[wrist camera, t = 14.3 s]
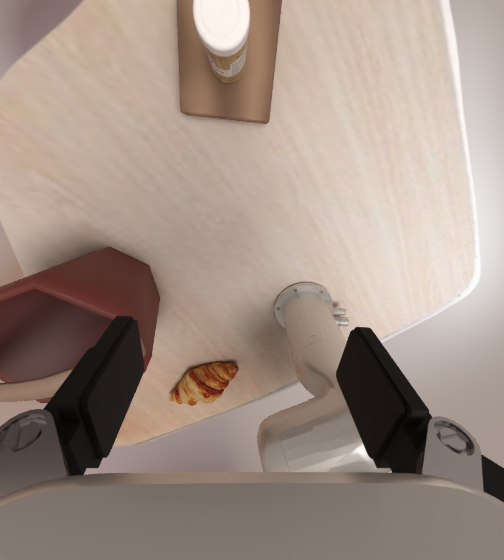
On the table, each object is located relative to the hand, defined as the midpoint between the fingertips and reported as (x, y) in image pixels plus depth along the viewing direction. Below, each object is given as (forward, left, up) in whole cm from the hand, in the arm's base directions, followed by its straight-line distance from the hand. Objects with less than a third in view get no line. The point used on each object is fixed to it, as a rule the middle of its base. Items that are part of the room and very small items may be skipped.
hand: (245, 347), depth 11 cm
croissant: (+7, +45, -37) cm, 59 cm away
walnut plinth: (+3, -17, -36) cm, 40 cm away
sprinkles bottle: (+3, -17, -32) cm, 37 cm away
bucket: (+24, +19, -36) cm, 48 cm away
